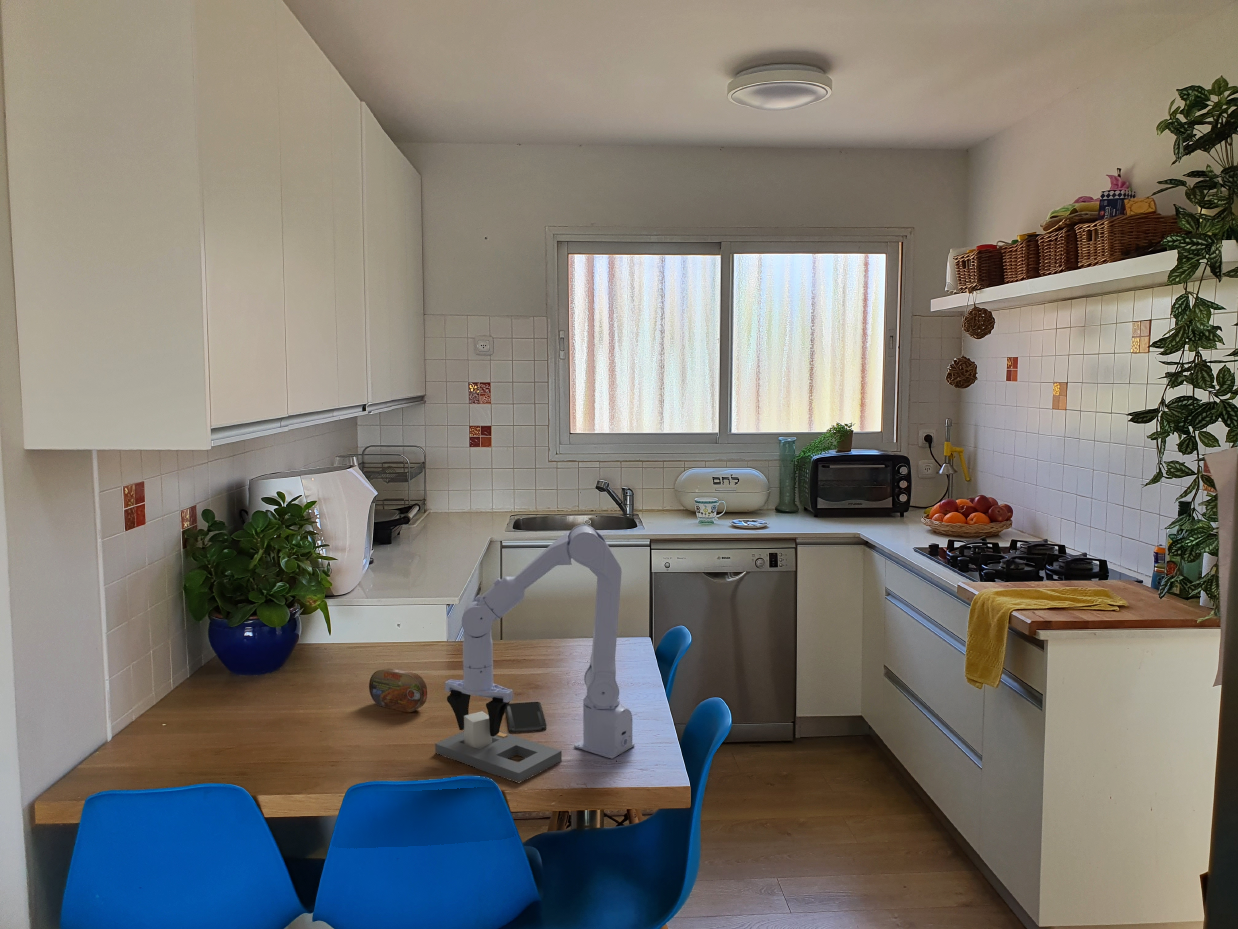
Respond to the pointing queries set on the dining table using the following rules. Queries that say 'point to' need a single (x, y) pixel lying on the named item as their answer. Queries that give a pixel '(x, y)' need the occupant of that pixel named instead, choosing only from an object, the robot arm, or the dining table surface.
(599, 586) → the robot arm
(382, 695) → the tin
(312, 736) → the dining table surface
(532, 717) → the phone
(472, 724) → the plug
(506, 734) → the socket plate
